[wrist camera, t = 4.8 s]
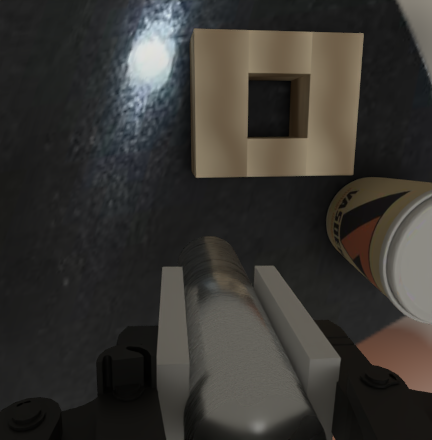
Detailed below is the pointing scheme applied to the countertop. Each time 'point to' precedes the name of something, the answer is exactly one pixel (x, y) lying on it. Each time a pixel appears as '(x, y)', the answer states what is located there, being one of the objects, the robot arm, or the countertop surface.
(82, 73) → the countertop surface
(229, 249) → the peg
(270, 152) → the hole block
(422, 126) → the countertop surface
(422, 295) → the coffee cup
